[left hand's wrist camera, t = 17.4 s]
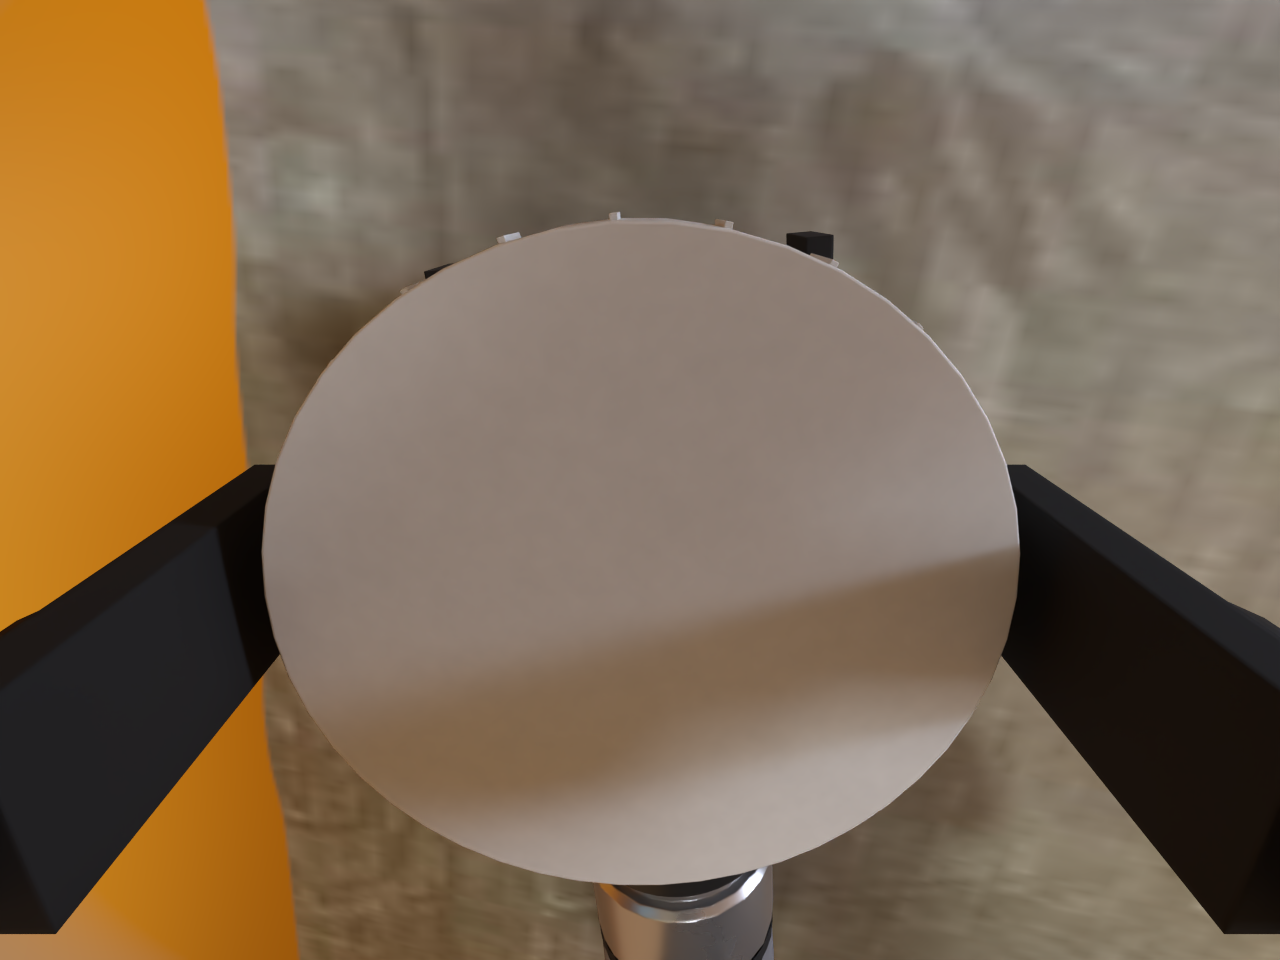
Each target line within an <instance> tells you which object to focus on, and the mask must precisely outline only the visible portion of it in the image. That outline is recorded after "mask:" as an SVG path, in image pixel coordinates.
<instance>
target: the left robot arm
mask: <svg viewBox="0 0 1280 960" xmlns="http://www.w3.org/2000/svg"><path fill="white" fill-rule="evenodd" d="M274 468H275V465H254V466H252V467H251V468H249V469H248V470H246V471H245V472H243V473H242V474H240V475H239V476H237V477H236V478H234V479H233V480H231V481H230V482H228V483H227V484H225V485H224V486H223V487H221V488H220V489H218V490H217V491H215V492H214V493H212V494H211V495H209V496H208V497H206V498H205V499H203V500H202V501H200V502H199V503H197V504H196V505H195V506H193V507H192V508H190V509H189V510H187V511H186V512H184V513H183V514H181V515H180V516H178V517H177V518H175V519H174V520H172V521H171V522H169V523H168V524H167V525H165V526H163V527H162V528H161V529H159V530H158V531H156V532H155V533H153V534H152V535H150V536H149V537H147V538H146V539H144V540H143V541H141V542H140V543H138V544H137V545H135V546H134V547H132V548H131V549H129V550H128V551H127V552H125V553H124V554H122V555H121V556H119V557H118V558H116V559H115V560H113V561H112V562H110V563H109V564H107V565H106V566H104V567H103V568H101V569H100V570H98V571H97V572H95V573H94V574H92V575H91V576H90V577H88V578H87V579H85V580H84V581H82V582H81V583H79V584H78V585H76V586H75V587H73V588H72V589H70V590H69V591H67V592H66V593H65V594H63V595H61V596H60V597H59V598H57V599H56V600H54V601H53V602H51V603H50V604H48V605H47V606H45V607H44V608H42V609H41V610H39V611H37V612H35V613H33V614H31V615H28V616H26V617H24V618H22V619H20V620H17V621H16V622H14V623H13V624H11V625H10V626H8V627H7V628H5V629H4V630H2V631H1V632H0V934H56V933H57V932H58V931H59V929H60V928H61V927H62V926H63V924H64V923H65V922H66V921H67V919H68V918H69V917H70V916H71V914H72V913H73V912H74V911H75V909H76V908H77V907H78V906H79V904H80V903H81V902H82V901H83V899H84V898H85V897H86V896H87V894H88V893H89V892H90V891H91V889H92V888H93V887H94V886H95V884H96V883H97V882H98V881H99V879H100V878H101V877H102V876H103V874H104V873H105V872H106V871H107V869H108V868H109V867H110V866H111V864H112V863H113V862H114V861H115V859H116V858H117V857H118V856H119V854H120V853H121V852H122V851H123V849H124V848H125V847H126V846H127V844H128V843H129V842H130V841H131V839H132V838H133V837H134V836H135V834H136V833H137V832H138V831H139V829H140V828H141V827H142V826H143V824H144V823H145V822H146V821H147V819H148V818H149V817H150V816H151V814H152V813H153V812H154V811H155V809H156V808H157V807H158V806H159V804H160V803H161V802H162V801H163V799H164V798H165V797H166V796H167V794H168V793H169V792H170V791H171V789H172V788H173V787H174V786H175V784H176V783H177V782H178V781H179V779H180V778H181V777H182V776H183V774H184V773H185V772H186V771H187V769H188V768H189V767H190V766H191V764H192V763H193V762H194V761H195V759H196V758H197V757H198V756H199V754H200V753H201V752H202V751H203V749H204V748H205V747H206V746H207V744H208V743H209V742H210V741H211V739H212V738H213V737H214V736H215V734H216V733H217V732H218V731H219V729H220V728H221V727H222V726H223V724H224V723H225V722H226V721H227V719H228V718H229V717H230V716H231V714H232V713H233V712H234V711H235V709H236V708H237V707H238V706H239V704H240V703H241V702H242V701H243V699H244V698H245V697H246V696H247V694H248V693H249V692H250V691H251V689H252V688H253V687H254V686H255V684H256V683H257V682H258V681H259V679H260V678H261V677H262V676H263V674H264V673H265V672H266V671H267V669H268V668H269V667H270V666H271V664H272V663H273V662H274V661H275V659H276V658H277V657H278V656H279V654H280V652H279V650H278V647H277V644H276V642H275V639H274V636H273V631H272V627H271V622H270V618H269V613H268V609H267V604H266V600H265V595H264V580H263V566H262V540H263V528H264V516H265V505H266V501H267V497H268V493H269V489H270V485H271V481H272V476H273V472H274ZM1007 469H1008V473H1009V477H1010V482H1011V486H1012V490H1013V494H1014V499H1015V503H1016V507H1017V518H1018V532H1019V545H1020V562H1019V575H1018V588H1017V598H1016V603H1015V607H1014V612H1013V616H1012V620H1011V625H1010V629H1009V633H1008V638H1007V641H1006V644H1005V646H1004V649H1003V651H1002V654H1001V656H1002V657H1003V658H1004V659H1005V661H1006V662H1007V663H1008V664H1009V666H1010V667H1011V668H1012V669H1013V671H1014V672H1015V673H1016V674H1017V676H1018V677H1019V678H1020V679H1021V681H1022V682H1023V683H1024V684H1025V686H1026V687H1027V688H1028V689H1029V691H1030V692H1031V693H1032V694H1033V696H1034V697H1035V698H1036V699H1037V701H1038V702H1039V703H1040V704H1041V706H1042V707H1043V708H1044V709H1045V711H1046V712H1047V713H1048V714H1049V716H1050V717H1051V718H1052V719H1053V721H1054V722H1055V723H1056V724H1057V726H1058V727H1059V728H1060V729H1061V731H1062V732H1063V733H1064V734H1065V736H1066V737H1067V738H1068V739H1069V741H1070V742H1071V743H1072V744H1073V746H1074V747H1075V748H1076V749H1077V751H1078V752H1079V753H1080V754H1081V756H1082V757H1083V758H1084V759H1085V761H1086V762H1087V763H1088V764H1089V766H1090V767H1091V768H1092V769H1093V771H1094V772H1095V773H1096V774H1097V776H1098V777H1099V778H1100V779H1101V781H1102V782H1103V783H1104V784H1105V786H1106V787H1107V788H1108V789H1109V791H1110V792H1111V793H1112V794H1113V796H1114V797H1115V798H1116V799H1117V801H1118V802H1119V803H1120V804H1121V806H1122V807H1123V808H1124V809H1125V811H1126V812H1127V813H1128V814H1129V816H1130V817H1131V818H1132V819H1133V821H1134V822H1135V823H1136V824H1137V826H1138V827H1139V828H1140V829H1141V831H1142V832H1143V833H1144V834H1145V836H1146V837H1147V838H1148V839H1149V841H1150V842H1151V843H1152V844H1153V846H1154V847H1155V848H1156V849H1157V851H1158V852H1159V853H1160V854H1161V856H1162V857H1163V858H1164V859H1165V861H1166V862H1167V863H1168V864H1169V866H1170V867H1171V868H1172V869H1173V871H1174V872H1175V873H1176V874H1177V876H1178V877H1179V878H1180V879H1181V881H1182V882H1183V883H1184V884H1185V886H1186V887H1187V888H1188V889H1189V891H1190V892H1191V893H1192V894H1193V896H1194V897H1195V898H1196V899H1197V901H1198V902H1199V903H1200V904H1201V906H1202V907H1203V908H1204V909H1205V911H1206V912H1207V913H1208V914H1209V916H1210V917H1211V918H1212V919H1213V921H1214V922H1215V923H1216V924H1217V926H1218V927H1219V928H1220V929H1221V931H1222V932H1223V933H1224V934H1280V628H1279V627H1277V626H1276V625H1274V624H1273V623H1271V622H1270V621H1268V620H1267V619H1265V618H1263V617H1261V616H1259V615H1256V614H1254V613H1252V612H1250V611H1247V610H1245V609H1243V608H1241V607H1239V606H1236V605H1234V604H1232V603H1230V602H1227V601H1226V600H1224V599H1223V598H1221V597H1220V596H1219V595H1217V594H1216V593H1214V592H1213V591H1211V590H1210V589H1208V588H1207V587H1205V586H1204V585H1202V584H1201V583H1199V582H1198V581H1196V580H1195V579H1193V578H1192V577H1190V576H1189V575H1188V574H1186V573H1185V572H1183V571H1182V570H1180V569H1179V568H1177V567H1176V566H1174V565H1173V564H1171V563H1170V562H1168V561H1167V560H1165V559H1164V558H1162V557H1161V556H1159V555H1158V554H1156V553H1155V552H1154V551H1152V550H1151V549H1149V548H1148V547H1146V546H1145V545H1143V544H1142V543H1140V542H1139V541H1137V540H1136V539H1134V538H1133V537H1131V536H1130V535H1128V534H1127V533H1125V532H1124V531H1122V530H1121V529H1120V528H1118V527H1117V526H1115V525H1114V524H1112V523H1111V522H1109V521H1108V520H1106V519H1105V518H1103V517H1102V516H1100V515H1099V514H1097V513H1096V512H1094V511H1093V510H1091V509H1090V508H1088V507H1087V506H1086V505H1084V504H1083V503H1081V502H1080V501H1078V500H1077V499H1075V498H1074V497H1072V496H1071V495H1069V494H1068V493H1066V492H1065V491H1063V490H1062V489H1060V488H1059V487H1057V486H1056V485H1055V484H1053V483H1052V482H1050V481H1049V480H1047V479H1046V478H1044V477H1043V476H1041V475H1040V474H1038V473H1037V472H1035V471H1034V470H1032V469H1031V468H1029V467H1028V466H1026V465H1007Z"/></svg>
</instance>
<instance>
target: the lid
mask: <svg viewBox="0 0 1280 960" xmlns="http://www.w3.org/2000/svg"><path fill="white" fill-rule="evenodd" d="M732 228H733V222H729V221H725V220H719V219H716V220H715V224H714V225H711V224H704V223H697V222H690V221H683V220H676V219H669V218H620V212H612V213H609V219H606V220H599V221H592V222H584V223H577V224H570V225H564V226H561V227H557V228H554V229H550V230H547V231H543V232H540V233H536V234H533V235H529V236H526V237H522V238H521V236H520V233H519V232H517V233H512V234H508V235H504V236H501V237H498V238H496V240H497V242H498V245H495V246H492V247H490V248H488V249H486V250H484V251H481V252H479V253H477V254H475V255H472V256H470V257H468V258H466V259H463V260H461V261H459V262H457V263H454V264H452V265H450V266H448V267H445V268H443V269H442V270H440V271H438V272H437V273H435V274H434V275H432V276H431V277H429V278H427V279H426V280H424V281H421V282H418V283H415V284H412V285H409V286H407V287H404V288H403V289H402V290H400V293H401V296H399V297H397V298H396V299H395V300H393V301H392V302H391V303H390V304H389V305H388V306H387V307H385V308H384V309H383V310H382V311H381V312H380V313H378V314H377V315H376V316H375V317H374V318H373V319H372V320H370V321H369V322H368V323H367V324H366V325H365V326H363V327H362V328H361V329H360V330H359V331H358V332H356V333H355V334H354V336H353V337H352V338H351V339H350V340H349V341H348V343H347V344H346V345H345V346H344V347H343V348H342V350H341V351H340V352H339V353H338V354H337V355H336V357H335V358H334V359H332V360H331V361H330V362H329V364H328V366H327V367H326V368H325V370H324V371H323V372H322V373H321V374H320V376H319V378H318V379H317V381H316V383H315V384H314V386H313V387H312V389H311V391H310V392H309V394H308V396H307V397H306V399H305V400H304V402H303V404H302V405H301V407H300V409H299V410H298V412H297V413H296V415H295V417H294V419H293V422H292V424H291V427H290V429H289V431H288V434H287V436H286V439H285V441H284V443H283V446H282V448H281V451H280V453H279V455H278V458H277V460H276V464H275V468H274V472H273V476H272V481H271V485H270V489H269V493H268V497H267V501H266V505H265V516H264V528H263V540H262V566H263V580H264V595H265V600H266V604H267V609H268V613H269V618H270V622H271V627H272V631H273V636H274V639H275V642H276V644H277V647H278V650H279V652H280V655H281V658H282V660H283V663H284V666H285V668H286V671H287V674H288V676H289V678H290V680H291V682H292V684H293V686H294V688H295V689H296V691H297V693H298V695H299V697H300V699H301V701H302V702H303V704H304V706H305V708H306V710H307V712H308V713H309V715H310V716H311V718H312V719H313V720H314V722H315V723H316V725H317V726H318V727H319V729H320V730H321V732H322V733H323V734H324V736H325V737H326V738H327V740H328V741H329V743H330V744H331V745H332V747H333V748H334V749H335V750H336V751H337V752H338V753H339V754H340V755H341V757H342V758H343V759H344V760H345V761H346V762H347V763H348V764H349V765H350V766H351V767H352V768H353V770H354V771H355V772H356V773H357V774H358V775H359V776H360V777H361V778H362V779H363V780H364V781H366V782H367V783H368V784H369V785H370V786H371V787H373V788H374V789H375V790H376V791H377V792H378V793H380V794H381V795H382V796H383V797H384V798H386V799H387V800H388V801H389V802H390V803H391V804H393V805H394V806H396V807H397V808H399V809H400V810H402V811H403V812H404V813H406V814H407V815H409V816H410V817H412V818H413V819H415V820H416V821H418V822H419V823H421V824H422V825H424V826H425V827H427V828H429V829H431V830H432V831H434V832H436V833H438V834H440V835H442V836H444V837H446V838H447V839H449V840H451V841H453V842H455V843H457V844H459V845H461V846H463V847H465V848H468V849H470V850H472V851H475V852H477V853H480V854H482V855H485V856H487V857H490V858H492V859H494V860H497V861H499V862H503V863H506V864H509V865H513V866H516V867H520V868H523V869H526V870H530V871H533V872H536V873H540V874H546V875H551V876H556V877H561V878H566V879H571V880H576V881H584V882H595V883H605V884H615V885H665V884H676V883H687V882H698V881H705V880H710V879H715V878H720V877H726V876H731V875H736V874H741V873H745V872H748V871H752V870H755V869H758V868H762V867H765V866H769V865H772V864H776V863H779V862H782V861H784V860H787V859H789V858H792V857H794V856H797V855H799V854H802V853H804V852H807V851H809V850H812V849H814V848H816V847H819V846H821V845H822V844H824V843H826V842H828V841H830V840H832V839H834V838H836V837H838V836H840V835H841V834H843V833H845V832H847V831H849V830H851V829H853V828H855V827H856V826H858V825H859V824H861V823H862V822H864V821H865V820H867V819H868V818H870V817H871V816H872V815H874V814H875V813H877V812H878V811H880V810H881V809H883V808H884V807H886V806H887V805H889V804H890V803H891V802H892V801H893V800H895V799H896V798H897V797H898V796H899V795H901V794H902V793H903V792H904V791H905V790H906V789H908V788H909V787H910V786H911V785H912V784H914V783H915V782H916V781H917V780H918V779H919V778H920V777H921V776H922V775H923V774H924V773H925V772H926V771H927V770H928V769H929V768H930V767H931V766H932V765H933V764H934V762H935V761H936V760H937V759H938V758H939V757H940V756H941V755H942V754H943V753H944V752H945V751H946V750H947V749H948V747H949V746H950V744H951V743H952V742H953V740H954V739H955V738H956V736H957V735H958V734H959V732H960V731H961V729H962V728H963V727H964V725H965V724H966V723H967V721H968V720H969V718H970V717H971V716H972V714H973V712H974V710H975V709H976V707H977V705H978V703H979V701H980V700H981V698H982V696H983V694H984V692H985V690H986V689H987V687H988V685H989V683H990V681H991V680H992V677H993V675H994V672H995V670H996V667H997V664H998V662H999V659H1000V657H1001V654H1002V651H1003V649H1004V646H1005V644H1006V641H1007V638H1008V633H1009V629H1010V625H1011V620H1012V616H1013V612H1014V607H1015V603H1016V598H1017V588H1018V575H1019V562H1020V545H1019V532H1018V518H1017V507H1016V503H1015V499H1014V494H1013V490H1012V486H1011V482H1010V477H1009V473H1008V469H1007V465H1006V461H1005V459H1004V456H1003V454H1002V451H1001V449H1000V447H999V444H998V442H997V439H996V437H995V434H994V432H993V429H992V427H991V424H990V422H989V420H988V417H987V416H986V414H985V412H984V411H983V409H982V408H981V406H980V404H979V403H978V401H977V399H976V398H975V396H974V394H973V393H972V391H971V389H970V388H969V386H968V384H967V383H966V381H965V379H964V378H963V376H962V375H961V374H960V372H959V371H958V370H957V369H956V368H955V366H954V365H953V364H952V363H951V362H950V360H949V359H948V358H947V357H946V356H945V354H944V353H943V352H942V351H941V350H940V348H939V347H938V346H937V345H936V344H935V343H934V341H933V340H932V339H931V338H930V337H929V335H927V334H926V333H925V332H924V331H923V327H922V326H921V325H920V324H919V323H917V322H915V321H913V320H910V319H909V318H908V317H907V316H906V315H905V314H904V313H902V312H901V311H900V310H899V309H898V308H897V307H896V306H894V305H893V304H892V303H891V302H890V301H889V300H887V299H886V298H884V297H883V296H881V295H880V294H878V293H876V292H875V291H873V290H872V289H870V288H869V287H867V286H866V285H864V284H862V283H861V282H859V281H858V280H856V279H855V278H853V277H852V276H850V275H848V274H847V273H845V272H844V271H842V270H841V269H838V268H837V266H838V265H839V263H838V262H837V261H835V260H833V259H830V258H826V257H823V256H819V255H816V254H812V253H811V254H810V255H808V254H805V253H803V252H801V251H799V250H797V249H794V248H792V247H790V246H787V245H784V244H780V243H777V242H773V241H770V240H767V239H763V238H760V237H756V236H753V235H749V234H746V233H743V232H739V231H736V230H732Z"/></svg>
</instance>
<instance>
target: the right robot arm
mask: <svg viewBox="0 0 1280 960" xmlns="http://www.w3.org/2000/svg"><path fill="white" fill-rule="evenodd" d="M787 246H790V247H792V248H794V249H797V250H799V251H801V252H803V253H805V254H808V255H810V254H811V253H812V254H816V255H819V256H823V257H826V258H830V259H833V235H830V234H824V233H818V232H812V231H810V232H798V233H787ZM450 265H452V264H447V265H444V266H441V267H437V268H434V269H431V270H428V271H425V272H424V273H425V278H426V279H427V278H429V277H431V276H432V275H434V274H435V273H437V272H438V271H440V270H442V269H443V268H445V267H448V266H450ZM593 886H594V892H595V898H596V904H597V910H598V916H599V923H600V927H601V934H602V938H603V944H604V953H605V960H774V951H773V936H772V907H773V872H772V865H769V866H765V867H762V868H758V869H755V870H752V871H748V872H745V873H741V874H736V875H731V876H726V877H720V878H715V879H710V880H705V881H698V882H687V883H676V884H665V885H615V884H605V883H595V882H593Z"/></svg>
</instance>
